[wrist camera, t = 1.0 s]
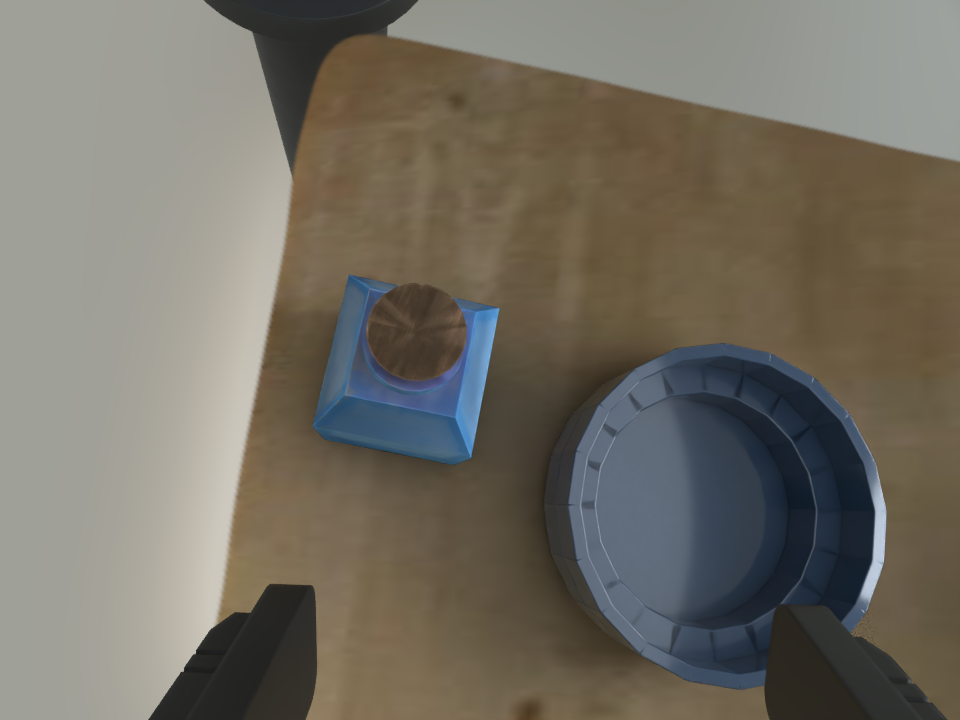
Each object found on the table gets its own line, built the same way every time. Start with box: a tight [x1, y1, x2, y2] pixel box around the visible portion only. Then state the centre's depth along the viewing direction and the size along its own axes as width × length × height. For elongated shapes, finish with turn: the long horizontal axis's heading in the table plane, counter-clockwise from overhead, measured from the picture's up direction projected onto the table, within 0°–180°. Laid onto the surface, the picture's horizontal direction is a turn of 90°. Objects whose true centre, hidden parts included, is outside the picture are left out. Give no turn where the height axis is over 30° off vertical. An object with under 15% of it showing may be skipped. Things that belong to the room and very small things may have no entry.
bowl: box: [543, 343, 887, 690], centre depth 32 cm, size 14×14×5 cm
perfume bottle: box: [313, 275, 499, 465], centre depth 28 cm, size 6×6×12 cm
